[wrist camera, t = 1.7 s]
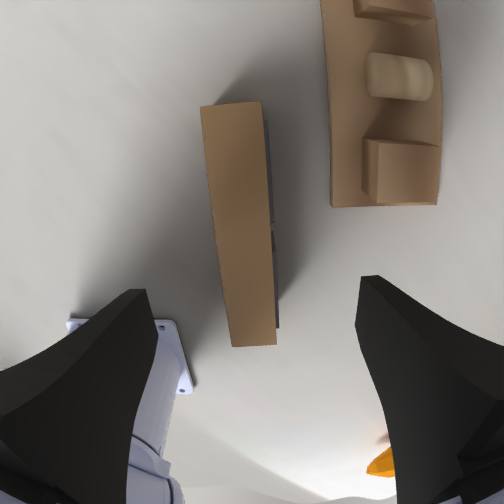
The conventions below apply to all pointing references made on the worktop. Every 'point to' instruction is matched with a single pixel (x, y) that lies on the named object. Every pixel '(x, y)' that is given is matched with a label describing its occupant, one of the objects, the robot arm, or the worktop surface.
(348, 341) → the worktop surface
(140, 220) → the worktop surface
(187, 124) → the worktop surface
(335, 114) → the display stand
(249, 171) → the long wooden plank
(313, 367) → the worktop surface
